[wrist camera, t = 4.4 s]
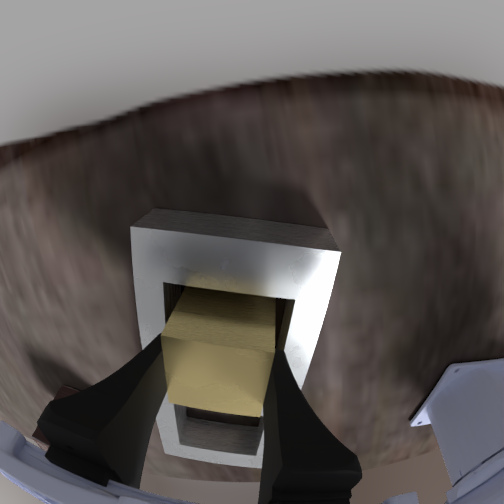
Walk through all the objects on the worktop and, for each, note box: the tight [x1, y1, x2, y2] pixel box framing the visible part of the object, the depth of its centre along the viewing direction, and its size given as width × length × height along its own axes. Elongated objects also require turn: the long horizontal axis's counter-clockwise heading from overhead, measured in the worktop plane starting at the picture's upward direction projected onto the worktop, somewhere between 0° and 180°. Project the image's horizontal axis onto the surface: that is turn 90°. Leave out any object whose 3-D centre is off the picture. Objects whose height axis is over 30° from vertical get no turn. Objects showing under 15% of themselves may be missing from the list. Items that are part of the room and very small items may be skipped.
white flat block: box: [130, 208, 341, 468], centre depth 17 cm, size 9×20×3 cm, turn 174°
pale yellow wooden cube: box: [161, 286, 275, 417], centre depth 14 cm, size 4×4×4 cm
